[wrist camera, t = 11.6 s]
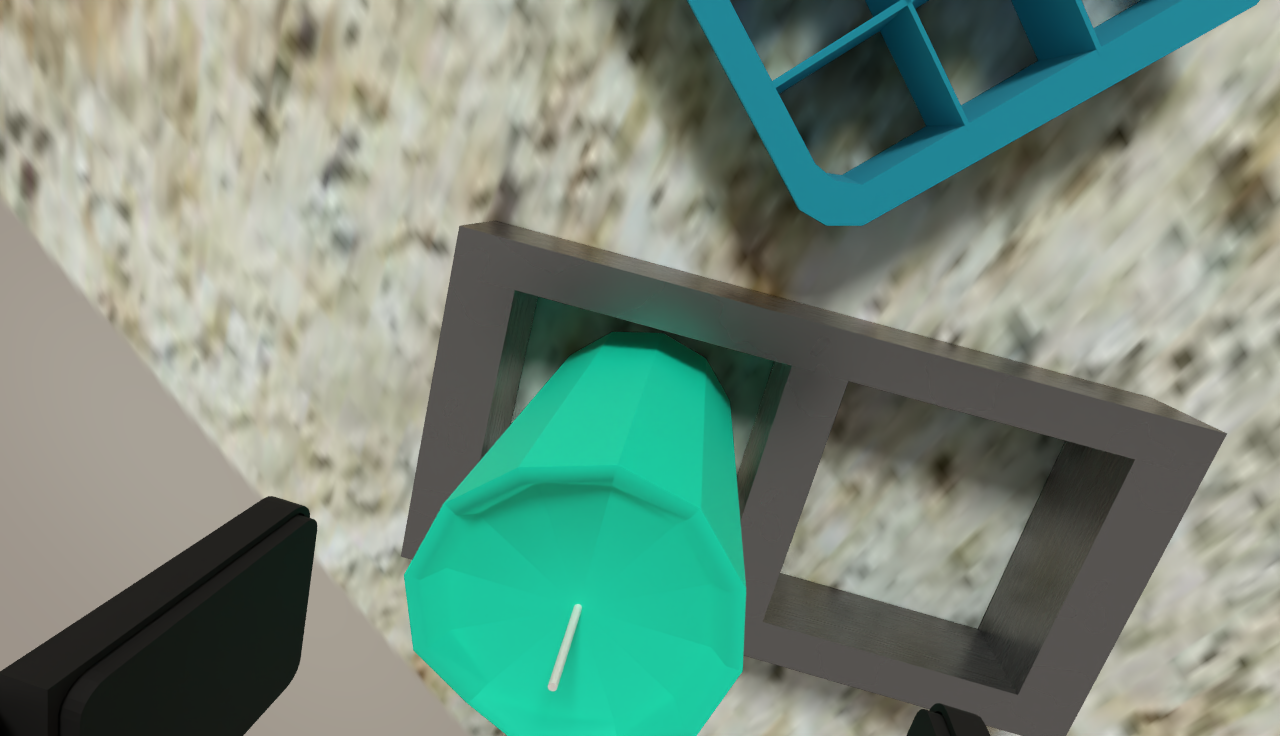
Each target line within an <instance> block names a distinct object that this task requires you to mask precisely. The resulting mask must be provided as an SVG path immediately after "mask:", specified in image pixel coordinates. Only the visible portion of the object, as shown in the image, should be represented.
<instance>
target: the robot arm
mask: <svg viewBox="0 0 1280 736" xmlns="http://www.w3.org/2000/svg"><path fill="white" fill-rule="evenodd" d="M316 534H317V522H316V521H315V520H314V519H311V518H310V513H309V509H308V508H307V507H305V506H302V505H299V504H296V503H293V502H290V501H286V500H283V499H280V498H277V497H273V496H269V497H266V498H264V499H262V500H261V501H259V502H258V503H256V504H255V505H253V506H252V507H250V508H249V509H247V510H246V511H244V512H243V513H241V514H240V515H238V516H237V517H235V518H233V519H232V520H230V521H229V522H227V523H226V524H224V525H223V526H221V527H220V528H218V529H217V530H215V531H214V532H212V533H211V534H209V535H208V536H206V537H205V538H203V539H202V540H200V541H199V542H197V543H195V544H194V545H192V546H191V547H190V548H188V549H186V550H185V551H183V552H182V553H180V554H179V555H177V556H176V557H174V558H172V559H171V560H169V561H168V562H166V563H165V564H164V565H162V566H160V567H159V568H157V569H156V570H154V571H153V572H151V573H150V574H148V575H147V576H145V577H144V578H142V579H141V580H139V581H138V582H136V583H134V584H133V585H132V586H130V587H128V588H127V589H125V590H124V591H122V592H121V593H119V594H118V595H116V596H115V597H113V598H112V599H110V600H108V601H107V602H105V603H104V604H103V605H101V606H99V607H98V608H96V609H95V610H93V611H92V612H90V613H89V614H88V615H86V616H84V617H83V618H81V619H80V620H78V621H77V622H75V623H73V624H72V625H70V626H69V627H67V628H66V629H64V630H63V631H61V632H60V633H58V634H57V635H55V636H54V637H52V638H51V639H49V640H48V641H46V642H45V643H43V644H41V645H40V646H38V647H37V648H35V649H34V650H32V651H31V652H29V653H28V654H26V655H25V656H23V657H22V658H20V659H19V660H17V661H16V662H14V663H13V664H11V665H10V666H8V667H6V668H5V669H3V670H2V671H0V736H243V735H244V734H245V733H246V732H247V731H248V730H249V729H250V727H251V726H252V725H253V724H254V723H255V722H256V721H257V719H259V717H260V716H261V715H262V714H263V713H264V712H265V711H266V710H267V708H269V706H270V705H271V704H272V703H273V702H274V701H275V700H276V699H277V697H278V696H279V695H280V694H281V693H282V692H283V691H284V690H285V689H286V688H287V686H288V685H289V684H290V682H291V680H292V679H293V677H294V676H295V674H296V671H297V669H298V666H299V663H300V658H301V650H302V642H303V635H304V627H305V620H306V612H307V604H308V596H309V588H310V581H311V572H312V565H313V558H314V550H315V542H316ZM907 736H990V734H989V732H988V730H987V727H986V725H985V723H984V722H983V720H982V718H981V717H979V716H978V715H976V714H973V713H970V712H967V711H964V710H960V709H957V708H954V707H951V706H947V705H944V704H941V703H936V704H934V705H933V706H932V707H931V708H930V710H929V711H928V710H925V709H921V710H920V711H919V712H918V713H917V714H916V716H915V718H914V720H913V723H912V725H911V727H910V729H909V731H908V733H907Z"/></svg>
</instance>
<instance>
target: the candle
mask: <svg viewBox="0 0 1280 736" xmlns="http://www.w3.org/2000/svg"><path fill="white" fill-rule="evenodd" d="M404 580H405V588H406V596H407V603H408V611H409V619H410V627H411V635H412V643H413V650H414V651H415V652H416V653H417V654H418V655H419V656H420V657H421V658H422V659H423V660H424V661H425V662H426V663H427V664H428V665H429V666H430V667H431V668H432V669H433V670H434V671H435V672H436V673H437V674H438V675H439V676H440V677H441V678H442V679H443V680H444V681H445V682H446V683H447V684H448V685H449V686H450V687H451V688H452V689H453V690H454V691H455V692H456V693H457V694H458V695H459V696H460V697H461V698H462V699H463V700H464V701H465V702H466V703H468V704H469V705H470V706H471V707H473V708H474V709H475V710H476V711H478V712H479V713H480V714H481V715H482V716H484V717H485V718H486V719H487V720H489V721H490V722H491V723H492V724H494V725H495V726H496V727H497V728H499V729H500V730H501V731H502V732H504V733H505V734H506V735H507V736H697V734H698V733H699V732H700V730H701V729H702V727H703V726H704V725H705V723H706V722H707V720H708V719H709V718H710V716H711V715H712V713H713V712H714V711H715V709H716V708H717V706H718V705H719V704H720V702H721V701H722V699H723V698H724V697H725V695H726V694H727V692H728V691H729V690H730V688H731V687H732V685H733V684H734V683H735V681H736V680H737V678H738V677H739V676H740V674H741V673H742V671H743V651H744V629H745V606H746V580H745V569H744V557H743V546H742V534H741V522H740V511H739V499H738V488H737V476H736V464H735V453H734V441H733V430H732V418H731V406H730V400H729V398H728V397H727V395H726V393H725V391H724V389H723V388H722V386H721V384H720V382H719V381H718V379H717V377H716V375H715V373H714V372H713V370H712V368H711V366H710V365H709V363H708V361H707V359H706V358H704V357H703V356H701V355H699V354H698V353H696V352H694V351H693V350H691V349H689V348H687V347H686V346H684V345H682V344H681V343H679V342H677V341H676V340H674V339H672V338H671V337H669V336H667V335H666V334H664V333H648V332H611V333H609V334H607V335H606V336H604V337H602V338H600V339H598V340H597V341H595V342H593V343H591V344H589V345H588V346H586V347H584V348H582V349H580V350H579V351H577V352H575V353H573V354H571V355H570V356H569V357H568V358H567V359H566V361H565V362H564V363H563V364H562V365H561V366H560V368H559V369H558V370H557V371H556V372H555V374H554V375H553V376H552V377H551V378H550V379H549V381H548V382H547V383H546V384H545V385H544V386H543V388H542V389H541V390H540V391H539V392H538V393H537V395H536V396H535V397H534V398H533V399H532V400H531V402H530V403H529V404H528V405H527V406H526V407H525V409H524V410H523V411H522V412H521V413H520V415H519V416H518V417H517V418H516V419H515V420H514V422H513V423H512V424H511V425H510V426H509V427H508V429H507V430H506V431H505V432H504V433H503V434H502V436H501V437H500V438H499V439H498V440H497V441H496V443H495V444H494V445H493V446H492V447H491V448H490V450H489V451H488V452H487V453H486V454H485V456H484V457H483V458H482V459H481V460H480V461H479V463H478V464H477V465H476V466H475V467H474V468H473V470H472V471H471V472H470V473H469V474H468V475H467V477H466V478H465V479H464V480H463V481H462V482H461V484H460V485H459V486H458V487H457V488H456V489H455V491H454V492H453V493H452V494H451V495H450V497H449V498H448V499H447V500H446V501H445V502H444V504H443V505H442V507H441V509H440V511H439V513H438V514H437V516H436V518H435V520H434V522H433V523H432V525H431V527H430V529H429V531H428V532H427V534H426V536H425V538H424V540H423V541H422V543H421V545H420V547H419V549H418V551H417V552H416V554H415V556H414V558H413V560H412V561H411V563H410V565H409V567H408V569H407V570H406V572H405V574H404Z"/></svg>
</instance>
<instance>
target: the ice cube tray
mask: <svg viewBox="0 0 1280 736" xmlns="http://www.w3.org/2000/svg"><path fill="white" fill-rule="evenodd" d="M865 1H866V3H867V5H868V8H869V10H870V12H871V14H872V16H873V18H871V19H870V20H868V21H867V22H865V23H864V24H862V25H860V26H859V27H857V28H856V29H854V30H852V31H851V32H849V33H848V34H846V35H845V36H843V37H841V38H840V39H838V40H837V41H835V42H833V43H832V44H830V45H829V46H827V47H825V48H824V49H822V50H821V51H819V52H818V53H816V54H814V55H813V56H811V57H810V58H808V59H806V60H805V61H803V62H802V63H800V64H799V65H797V66H795V67H794V68H792V69H791V70H789V71H787V72H786V73H784V74H783V75H781V76H780V77H778V78H776V79H775V80H773V81H772V80H771V78H770V76H769V75H768V73H767V71H766V69H765V67H764V65H763V63H762V61H761V59H760V57H759V55H758V53H757V52H756V50H755V48H754V46H753V44H752V42H751V40H750V38H749V36H748V34H747V32H746V31H745V29H744V27H743V25H742V23H741V21H740V19H739V17H738V15H737V13H736V11H735V9H734V8H733V6H732V4H731V2H730V0H687V2H688V4H689V5H690V7H691V9H692V11H693V13H694V15H695V17H696V19H697V20H698V22H699V24H700V26H701V28H702V30H703V32H704V34H705V35H706V37H707V39H708V41H709V43H710V45H711V47H712V49H713V50H714V52H715V54H716V56H717V58H718V60H719V62H720V63H721V65H722V67H723V69H724V71H725V73H726V75H727V77H728V78H729V80H730V82H731V84H732V86H733V88H734V90H735V92H736V93H737V95H738V97H739V99H740V101H741V103H742V105H743V107H744V108H745V110H746V112H747V114H748V116H749V118H750V120H751V122H752V123H753V125H754V127H755V129H756V131H757V133H758V135H759V136H760V138H761V140H762V142H763V144H764V146H765V148H766V150H767V151H768V153H769V155H770V157H771V159H772V161H773V163H774V165H775V166H776V168H777V170H778V172H779V174H780V176H781V178H782V180H783V181H784V183H785V185H786V187H787V189H788V191H789V193H790V195H791V196H792V198H793V200H794V202H795V204H796V206H797V208H798V209H799V210H800V211H802V212H804V213H805V214H807V215H809V216H810V217H812V218H814V219H815V220H817V221H819V222H820V223H822V224H824V225H826V226H863V225H865V224H867V223H868V222H870V221H872V220H874V219H876V218H877V217H879V216H881V215H883V214H884V213H886V212H888V211H890V210H892V209H893V208H895V207H897V206H899V205H900V204H902V203H904V202H906V201H908V200H909V199H911V198H913V197H915V196H917V195H918V194H920V193H922V192H924V191H925V190H927V189H929V188H931V187H933V186H934V185H936V184H938V183H940V182H941V181H943V180H945V179H947V178H949V177H950V176H952V175H954V174H956V173H957V172H959V171H961V170H963V169H965V168H966V167H968V166H970V165H972V164H973V163H975V162H977V161H979V160H981V159H982V158H984V157H986V156H988V155H989V154H991V153H993V152H995V151H997V150H998V149H1000V148H1002V147H1004V146H1006V145H1007V144H1009V143H1011V142H1013V141H1014V140H1016V139H1018V138H1020V137H1022V136H1023V135H1025V134H1027V133H1029V132H1030V131H1032V130H1034V129H1036V128H1038V127H1039V126H1041V125H1043V124H1045V123H1046V122H1048V121H1050V120H1052V119H1054V118H1055V117H1057V116H1059V115H1061V114H1062V113H1064V112H1066V111H1068V110H1070V109H1071V108H1073V107H1075V106H1077V105H1079V104H1080V103H1082V102H1084V101H1086V100H1087V99H1089V98H1091V97H1093V96H1095V95H1096V94H1098V93H1100V92H1102V91H1103V90H1105V89H1107V88H1109V87H1111V86H1112V85H1114V84H1116V83H1118V82H1119V81H1121V80H1123V79H1125V78H1127V77H1128V76H1130V75H1132V74H1134V73H1135V72H1137V71H1139V70H1141V69H1143V68H1144V67H1146V66H1148V65H1150V64H1151V63H1153V62H1155V61H1157V60H1159V59H1160V58H1162V57H1164V56H1166V55H1168V54H1169V53H1171V52H1173V51H1175V50H1176V49H1178V48H1180V47H1182V46H1184V45H1185V44H1187V43H1189V42H1191V41H1192V40H1194V39H1196V38H1198V37H1200V36H1201V35H1203V34H1205V33H1207V32H1208V31H1210V30H1212V29H1214V28H1216V27H1217V26H1219V25H1221V24H1223V23H1224V22H1226V21H1228V20H1230V19H1232V18H1233V17H1235V16H1237V15H1239V14H1241V13H1242V12H1244V11H1246V10H1248V9H1249V8H1251V7H1253V6H1255V5H1257V3H1258V2H1259V1H1260V0H1140V1H1139V2H1138V3H1136V4H1135V5H1133V6H1131V7H1129V8H1128V9H1126V10H1124V11H1123V12H1121V13H1119V14H1117V15H1116V16H1114V17H1112V18H1111V19H1109V20H1107V21H1105V22H1104V23H1102V24H1100V25H1099V26H1097V27H1095V28H1093V26H1092V24H1091V22H1090V19H1089V17H1088V15H1087V12H1086V10H1085V8H1084V5H1083V3H1082V1H1081V0H1011V1H1012V4H1013V6H1014V8H1015V10H1016V12H1017V15H1018V17H1019V19H1020V21H1021V24H1022V26H1023V28H1024V30H1025V33H1026V35H1027V37H1028V39H1029V41H1030V44H1031V46H1032V48H1033V50H1034V53H1035V55H1036V57H1037V59H1038V61H1037V62H1035V63H1033V64H1032V65H1030V66H1028V67H1026V68H1025V69H1023V70H1021V71H1020V72H1018V73H1016V74H1014V75H1013V76H1011V77H1009V78H1008V79H1006V80H1004V81H1002V82H1001V83H999V84H997V85H996V86H994V87H992V88H990V89H989V90H987V91H985V92H984V93H982V94H980V95H978V96H977V97H975V98H973V99H972V100H970V101H968V102H966V103H965V104H963V105H960V103H959V101H958V98H957V96H956V94H955V92H954V90H953V88H952V86H951V84H950V82H949V79H948V77H947V75H946V73H945V71H944V69H943V67H942V65H941V63H940V61H939V58H938V56H937V54H936V52H935V50H934V48H933V46H932V44H931V42H930V39H929V37H928V35H927V33H926V31H925V29H924V27H923V25H922V23H921V20H920V18H919V16H918V14H917V12H916V10H915V9H916V8H918V7H919V6H921V5H922V4H924V3H926V2H927V1H929V0H865ZM879 31H880V32H881V34H882V36H883V38H884V40H885V42H886V44H887V47H888V49H889V51H890V53H891V55H892V57H893V59H894V61H895V63H896V65H897V67H898V69H899V71H900V73H901V75H902V77H903V79H904V81H905V83H906V86H907V88H908V90H909V92H910V94H911V96H912V98H913V100H914V102H915V104H916V106H917V108H918V110H919V112H920V114H921V116H922V118H923V120H924V122H925V125H926V126H925V127H924V128H922V129H920V130H918V131H917V132H915V133H913V134H912V135H910V136H908V137H906V138H905V139H903V140H901V141H900V142H898V143H896V144H894V145H893V146H891V147H889V148H888V149H886V150H884V151H882V152H881V153H879V154H877V155H876V156H874V157H872V158H870V159H869V160H867V161H865V162H864V163H862V164H860V165H858V166H857V167H855V168H853V169H852V170H850V171H848V172H846V173H845V174H843V175H836V174H829V173H826V172H824V171H823V170H822V169H821V168H820V167H819V166H817V165H816V164H815V162H814V161H813V159H812V157H811V155H810V153H809V151H808V149H807V147H806V145H805V143H804V141H803V140H802V138H801V136H800V134H799V132H798V130H797V128H796V126H795V124H794V122H793V120H792V118H791V117H790V115H789V113H788V111H787V109H786V107H785V105H784V103H783V101H782V99H781V97H780V96H779V94H780V93H782V92H783V91H785V90H786V89H788V88H790V87H791V86H793V85H794V84H796V83H798V82H799V81H801V80H802V79H804V78H806V77H807V76H809V75H810V74H812V73H814V72H815V71H817V70H818V69H820V68H822V67H823V66H825V65H826V64H828V63H830V62H831V61H833V60H834V59H836V58H838V57H839V56H841V55H842V54H844V53H846V52H847V51H849V50H850V49H852V48H854V47H855V46H857V45H858V44H860V43H862V42H863V41H865V40H866V39H868V38H870V37H871V36H873V35H874V34H876V33H878V32H879Z"/></svg>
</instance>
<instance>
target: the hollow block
mask: <svg viewBox="0 0 1280 736" xmlns="http://www.w3.org/2000/svg"><path fill="white" fill-rule="evenodd" d="M538 297H542V298H546V299H549V300H553V301H557V302H560V303H564V304H568V305H571V306H575V307H579V308H582V309H586V310H590V311H593V312H597V313H601V314H604V315H608V316H612V317H615V318H619V319H623V320H626V321H630V322H634V323H637V324H641V325H645V326H648V327H652V328H656V329H659V330H663V331H667V332H670V333H674V334H677V335H681V336H685V337H688V338H692V339H696V340H699V341H703V342H707V343H710V344H714V345H718V346H721V347H725V348H729V349H732V350H736V351H740V352H743V353H747V354H751V355H754V356H758V357H762V358H765V359H769V360H773V361H774V364H773V367H772V370H771V373H770V376H769V379H768V382H767V385H766V388H765V391H764V395H763V398H762V401H761V404H760V407H759V410H758V413H757V416H756V419H755V423H754V426H753V429H752V432H751V435H750V438H749V441H748V444H747V447H746V450H745V454H744V457H743V460H742V463H741V466H740V469H739V472H738V475H737V488H738V499H739V511H740V522H741V534H742V546H743V557H744V569H745V580H746V606H745V629H744V651H743V655H744V656H748V657H751V658H755V659H758V660H762V661H765V662H768V663H772V664H775V665H779V666H782V667H786V668H789V669H793V670H796V671H800V672H803V673H807V674H810V675H814V676H817V677H820V678H824V679H827V680H831V681H834V682H838V683H841V684H845V685H848V686H852V687H855V688H859V689H862V690H866V691H869V692H872V693H876V694H879V695H883V696H886V697H890V698H893V699H897V700H900V701H904V702H907V703H911V704H914V705H917V706H921V707H924V708H928V709H930V708H931V707H932V706H933V705H934V704H936V703H941V704H944V705H947V706H951V707H954V708H957V709H960V710H964V711H967V712H970V713H973V714H976V715H978V716H979V717H981V718H982V720H983V722H984V723H985V725H987V726H990V727H994V728H997V729H1001V730H1004V731H1008V732H1011V733H1015V734H1018V735H1021V736H1066V735H1067V733H1068V731H1069V729H1070V727H1071V725H1072V724H1073V722H1074V720H1075V718H1076V716H1077V714H1078V712H1079V710H1080V709H1081V707H1082V705H1083V703H1084V701H1085V699H1086V697H1087V695H1088V694H1089V692H1090V690H1091V688H1092V686H1093V684H1094V682H1095V680H1096V679H1097V677H1098V675H1099V673H1100V671H1101V669H1102V667H1103V665H1104V664H1105V662H1106V660H1107V658H1108V656H1109V654H1110V652H1111V650H1112V649H1113V647H1114V645H1115V643H1116V641H1117V639H1118V637H1119V635H1120V634H1121V632H1122V630H1123V628H1124V626H1125V624H1126V622H1127V620H1128V618H1129V617H1130V615H1131V613H1132V611H1133V609H1134V607H1135V605H1136V603H1137V602H1138V600H1139V598H1140V596H1141V594H1142V592H1143V590H1144V588H1145V587H1146V585H1147V583H1148V581H1149V579H1150V577H1151V575H1152V573H1153V572H1154V570H1155V568H1156V566H1157V564H1158V562H1159V560H1160V558H1161V557H1162V555H1163V553H1164V551H1165V549H1166V547H1167V545H1168V543H1169V542H1170V540H1171V538H1172V536H1173V534H1174V532H1175V530H1176V528H1177V527H1178V525H1179V523H1180V521H1181V519H1182V517H1183V515H1184V513H1185V512H1186V510H1187V508H1188V506H1189V504H1190V502H1191V500H1192V498H1193V496H1194V495H1195V493H1196V491H1197V489H1198V487H1199V485H1200V483H1201V481H1202V480H1203V478H1204V476H1205V474H1206V472H1207V470H1208V468H1209V466H1210V465H1211V463H1212V461H1213V459H1214V457H1215V455H1216V453H1217V451H1218V450H1219V448H1220V446H1221V444H1222V442H1223V440H1224V438H1225V436H1226V435H1227V433H1225V432H1222V431H1220V430H1218V429H1216V428H1214V427H1212V426H1210V425H1208V424H1206V423H1204V422H1201V421H1199V420H1197V419H1195V418H1193V417H1191V416H1189V415H1187V414H1185V413H1183V412H1180V411H1178V410H1176V409H1174V408H1172V407H1170V406H1168V405H1166V404H1164V403H1161V402H1159V401H1157V400H1155V399H1153V398H1150V397H1147V396H1143V395H1139V394H1135V393H1132V392H1128V391H1124V390H1121V389H1117V388H1113V387H1109V386H1106V385H1102V384H1098V383H1095V382H1091V381H1087V380H1084V379H1080V378H1076V377H1072V376H1069V375H1065V374H1061V373H1058V372H1054V371H1050V370H1047V369H1043V368H1039V367H1035V366H1032V365H1028V364H1024V363H1021V362H1017V361H1013V360H1009V359H1006V358H1002V357H998V356H995V355H991V354H987V353H984V352H980V351H976V350H972V349H969V348H965V347H961V346H958V345H954V344H950V343H947V342H943V341H939V340H935V339H932V338H928V337H924V336H921V335H917V334H913V333H909V332H906V331H902V330H898V329H895V328H891V327H887V326H884V325H880V324H876V323H872V322H869V321H865V320H861V319H858V318H854V317H850V316H847V315H843V314H839V313H835V312H832V311H828V310H824V309H821V308H817V307H813V306H809V305H806V304H802V303H798V302H795V301H791V300H787V299H784V298H780V297H776V296H772V295H769V294H765V293H761V292H758V291H754V290H750V289H747V288H743V287H739V286H735V285H732V284H728V283H724V282H721V281H717V280H713V279H709V278H706V277H702V276H698V275H695V274H691V273H687V272H684V271H680V270H676V269H672V268H669V267H665V266H661V265H658V264H654V263H650V262H647V261H643V260H639V259H635V258H632V257H628V256H624V255H621V254H617V253H613V252H609V251H606V250H602V249H598V248H595V247H591V246H587V245H584V244H580V243H576V242H572V241H569V240H565V239H561V238H558V237H554V236H550V235H547V234H543V233H539V232H535V231H532V230H528V229H524V228H521V227H517V226H513V225H509V224H506V223H502V222H498V221H489V222H483V223H476V224H469V225H462V226H459V231H458V237H457V243H456V248H455V254H454V260H453V265H452V271H451V277H450V282H449V288H448V294H447V299H446V305H445V311H444V316H443V322H442V327H441V333H440V339H439V344H438V350H437V356H436V361H435V367H434V373H433V378H432V384H431V390H430V395H429V401H428V407H427V412H426V418H425V424H424V429H423V435H422V440H421V446H420V452H419V457H418V463H417V469H416V474H415V480H414V486H413V491H412V497H411V503H410V508H409V514H408V520H407V525H406V531H405V537H404V542H403V548H402V553H401V557H405V558H408V559H412V560H413V558H414V556H415V554H416V552H417V551H418V549H419V547H420V545H421V543H422V541H423V540H424V538H425V536H426V534H427V532H428V531H429V529H430V527H431V525H432V523H433V522H434V520H435V518H436V516H437V514H438V513H439V511H440V509H441V507H442V505H443V504H444V502H445V501H446V500H447V499H448V498H449V497H450V495H451V494H452V493H453V492H454V491H455V489H456V488H457V487H458V486H459V485H460V484H461V482H462V481H463V480H464V479H465V478H466V477H467V475H468V474H469V473H470V472H471V471H472V470H473V468H474V467H475V466H476V465H477V464H478V463H479V461H480V460H481V459H482V458H483V457H484V456H485V454H486V453H487V452H488V451H489V450H490V448H491V447H492V446H493V445H494V444H495V443H496V441H497V440H498V439H499V438H500V437H501V436H502V434H503V433H504V432H505V431H506V430H507V429H508V427H509V426H510V424H511V419H512V415H513V410H514V405H515V401H516V396H517V391H518V387H519V382H520V378H521V373H522V368H523V364H524V359H525V354H526V350H527V345H528V340H529V336H530V331H531V326H532V322H533V317H534V312H535V308H536V303H537V298H538ZM848 381H849V382H853V383H857V384H860V385H864V386H868V387H871V388H875V389H879V390H882V391H886V392H890V393H893V394H897V395H901V396H904V397H908V398H912V399H915V400H919V401H923V402H926V403H930V404H934V405H937V406H941V407H945V408H948V409H952V410H956V411H959V412H963V413H967V414H970V415H974V416H978V417H981V418H985V419H989V420H992V421H996V422H1000V423H1003V424H1007V425H1010V426H1014V427H1018V428H1021V429H1025V430H1029V431H1032V432H1036V433H1040V434H1043V435H1047V436H1051V437H1054V438H1058V439H1062V440H1065V443H1064V445H1063V447H1062V450H1061V452H1060V454H1059V456H1058V458H1057V460H1056V462H1055V465H1054V467H1053V469H1052V471H1051V473H1050V475H1049V478H1048V480H1047V482H1046V484H1045V486H1044V488H1043V491H1042V493H1041V495H1040V497H1039V499H1038V501H1037V504H1036V506H1035V508H1034V510H1033V512H1032V514H1031V516H1030V519H1029V521H1028V523H1027V525H1026V527H1025V529H1024V532H1023V534H1022V536H1021V538H1020V540H1019V542H1018V545H1017V547H1016V549H1015V551H1014V553H1013V555H1012V558H1011V560H1010V562H1009V564H1008V566H1007V568H1006V571H1005V573H1004V575H1003V577H1002V579H1001V581H1000V583H999V586H998V588H997V590H996V592H995V594H994V596H993V599H992V601H991V603H990V605H989V607H988V609H987V612H986V614H985V616H984V618H983V620H982V622H981V625H980V627H979V629H975V628H972V627H968V626H965V625H961V624H958V623H954V622H951V621H947V620H944V619H940V618H937V617H933V616H930V615H926V614H923V613H919V612H916V611H912V610H909V609H905V608H901V607H898V606H894V605H891V604H887V603H884V602H880V601H877V600H873V599H870V598H866V597H863V596H859V595H856V594H852V593H849V592H845V591H842V590H838V589H835V588H831V587H828V586H824V585H820V584H817V583H813V582H810V581H806V580H803V579H799V578H796V577H792V576H789V575H785V574H782V573H780V571H781V568H782V566H783V563H784V560H785V557H786V554H787V552H788V549H789V546H790V543H791V540H792V538H793V535H794V532H795V529H796V526H797V524H798V521H799V518H800V515H801V512H802V510H803V507H804V504H805V501H806V498H807V496H808V493H809V490H810V487H811V484H812V482H813V479H814V476H815V473H816V470H817V468H818V465H819V462H820V459H821V456H822V454H823V451H824V448H825V445H826V442H827V440H828V437H829V434H830V431H831V428H832V426H833V423H834V420H835V417H836V414H837V412H838V409H839V406H840V403H841V400H842V398H843V395H844V392H845V389H846V386H847V384H848Z"/></svg>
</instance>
